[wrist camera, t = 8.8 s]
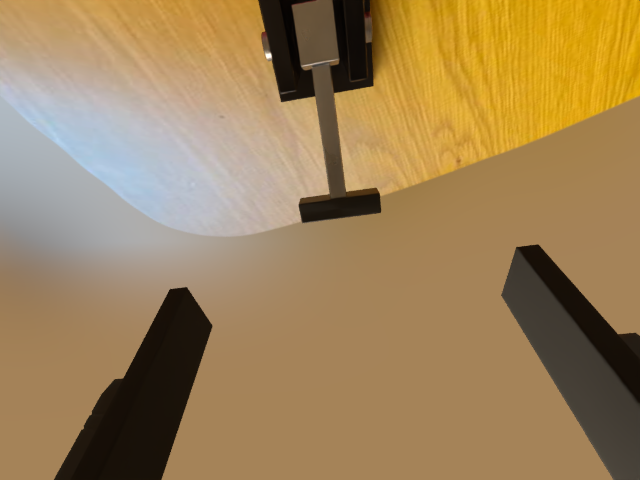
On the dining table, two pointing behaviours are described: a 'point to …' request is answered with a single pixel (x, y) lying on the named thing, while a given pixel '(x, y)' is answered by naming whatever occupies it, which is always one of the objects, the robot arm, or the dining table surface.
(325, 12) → the switch lever
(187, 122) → the dining table surface
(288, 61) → the lever switch base
